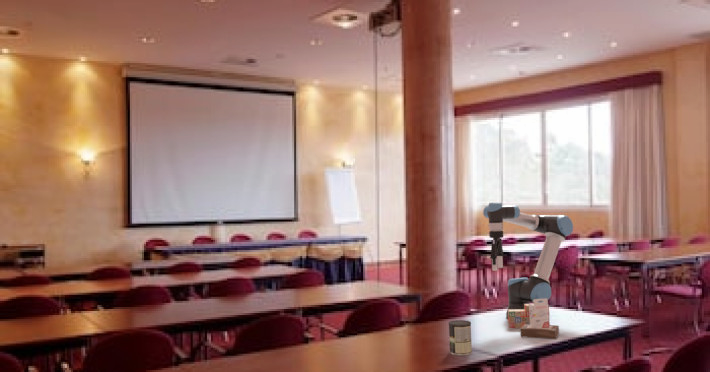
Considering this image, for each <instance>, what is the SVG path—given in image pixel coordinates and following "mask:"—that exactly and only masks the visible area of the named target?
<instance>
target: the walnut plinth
mask: <svg viewBox="0 0 710 372" xmlns="http://www.w3.org/2000/svg"><path fill="white" fill-rule="evenodd" d="M559 327H560V325H557V324H556V325H551V324H550V325H549V327H544V328H532V327H530V324H525V325H524V326H523V327H522V328H520V338H532V339H533V338H538V339H553V340H556V339H557V338H558V336H559V334H560V328H559Z"/></svg>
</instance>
